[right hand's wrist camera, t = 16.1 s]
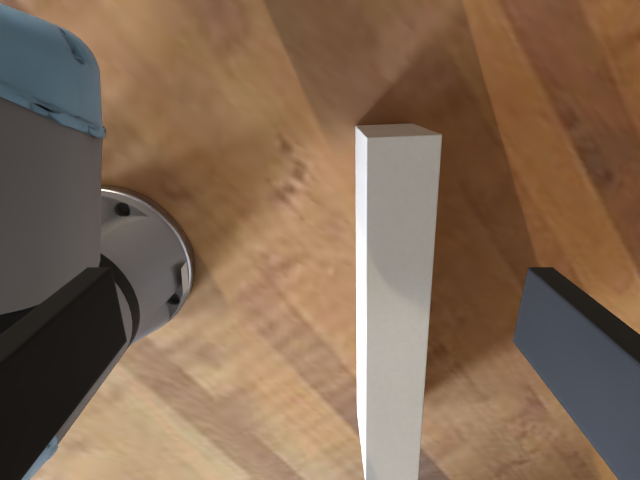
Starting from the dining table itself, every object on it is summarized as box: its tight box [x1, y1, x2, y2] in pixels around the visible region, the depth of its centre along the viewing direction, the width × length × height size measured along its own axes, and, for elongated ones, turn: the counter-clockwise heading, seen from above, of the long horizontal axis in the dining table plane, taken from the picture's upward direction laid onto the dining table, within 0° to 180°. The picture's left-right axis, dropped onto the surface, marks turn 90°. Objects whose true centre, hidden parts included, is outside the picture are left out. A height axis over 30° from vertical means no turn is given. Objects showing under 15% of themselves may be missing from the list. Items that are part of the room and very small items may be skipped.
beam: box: [355, 123, 442, 480], centre depth 36 cm, size 32×5×9 cm, turn 2°
